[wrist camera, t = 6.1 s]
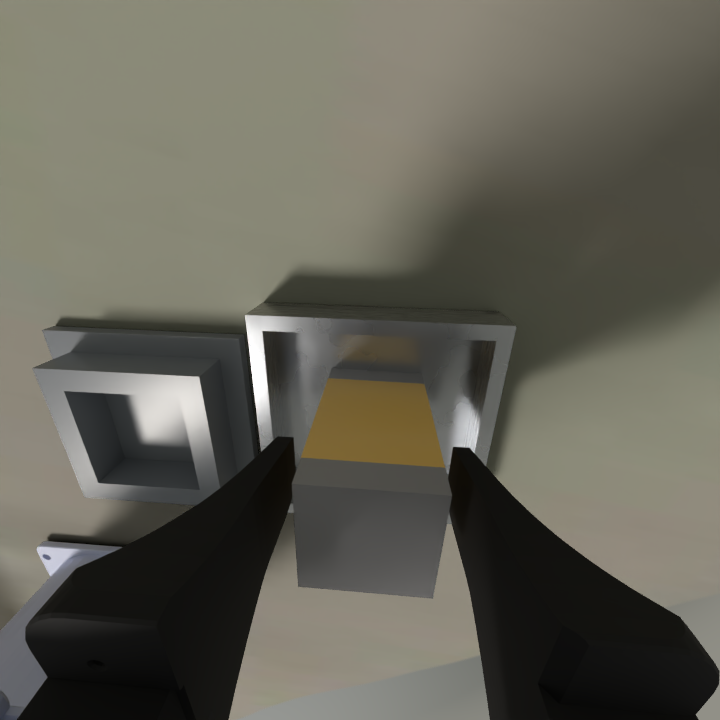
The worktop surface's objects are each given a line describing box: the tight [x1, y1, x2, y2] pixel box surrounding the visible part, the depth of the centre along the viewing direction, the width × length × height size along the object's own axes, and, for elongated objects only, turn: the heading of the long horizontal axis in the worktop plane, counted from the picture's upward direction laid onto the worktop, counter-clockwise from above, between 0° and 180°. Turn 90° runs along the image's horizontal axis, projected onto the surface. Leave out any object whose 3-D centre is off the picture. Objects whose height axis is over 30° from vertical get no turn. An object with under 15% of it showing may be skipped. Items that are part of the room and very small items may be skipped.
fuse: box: [292, 368, 452, 598], centre depth 12 cm, size 4×4×7 cm
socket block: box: [32, 326, 259, 505], centre depth 16 cm, size 9×9×2 cm
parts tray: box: [245, 303, 517, 524], centre depth 15 cm, size 10×10×2 cm
